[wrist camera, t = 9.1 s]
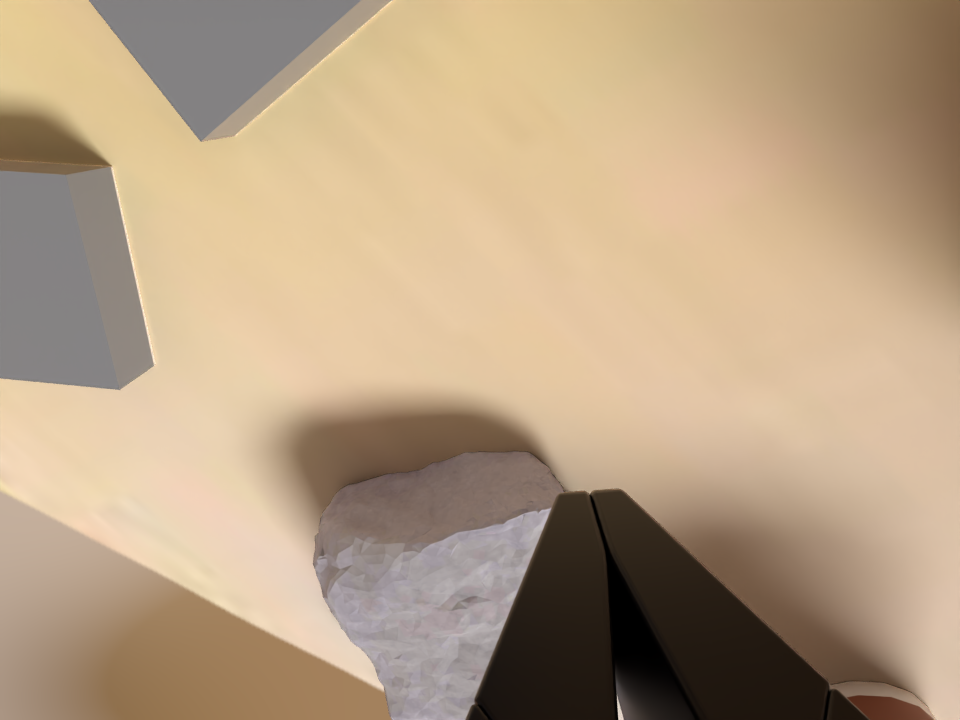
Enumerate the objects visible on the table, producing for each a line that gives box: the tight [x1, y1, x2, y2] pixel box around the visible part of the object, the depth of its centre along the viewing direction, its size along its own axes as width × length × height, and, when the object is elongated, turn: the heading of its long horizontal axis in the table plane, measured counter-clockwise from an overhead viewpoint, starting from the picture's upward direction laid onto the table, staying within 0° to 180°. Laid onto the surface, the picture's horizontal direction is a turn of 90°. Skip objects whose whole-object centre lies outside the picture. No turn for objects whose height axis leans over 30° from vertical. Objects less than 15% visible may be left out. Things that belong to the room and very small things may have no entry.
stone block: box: [313, 451, 564, 720], centre depth 23 cm, size 12×5×10 cm
